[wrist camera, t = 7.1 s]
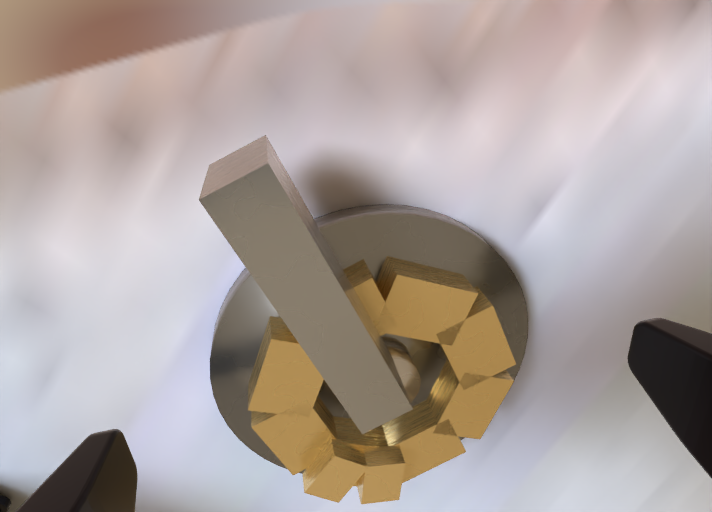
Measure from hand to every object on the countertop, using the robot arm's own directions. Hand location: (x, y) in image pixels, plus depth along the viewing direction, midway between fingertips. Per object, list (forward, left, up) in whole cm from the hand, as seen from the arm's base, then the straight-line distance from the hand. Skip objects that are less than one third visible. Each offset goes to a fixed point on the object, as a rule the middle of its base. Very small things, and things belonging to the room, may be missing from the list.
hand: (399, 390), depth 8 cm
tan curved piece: (-4, -5, -11) cm, 12 cm away
